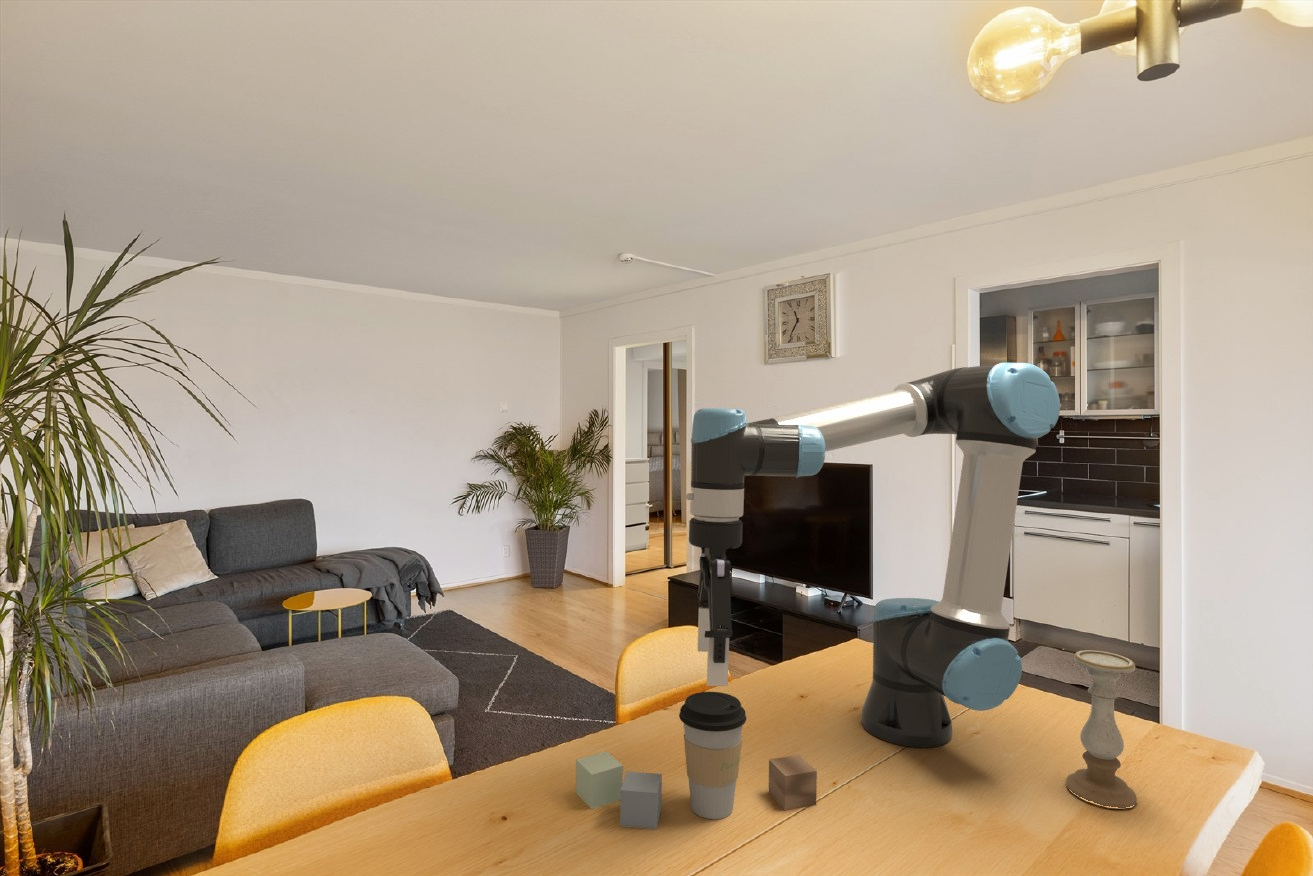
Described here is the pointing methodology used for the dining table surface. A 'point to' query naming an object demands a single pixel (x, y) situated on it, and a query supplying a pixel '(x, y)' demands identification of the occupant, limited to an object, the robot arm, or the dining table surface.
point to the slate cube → (640, 800)
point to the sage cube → (599, 779)
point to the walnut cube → (792, 782)
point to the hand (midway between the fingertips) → (711, 667)
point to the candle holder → (1102, 734)
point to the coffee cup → (712, 751)
